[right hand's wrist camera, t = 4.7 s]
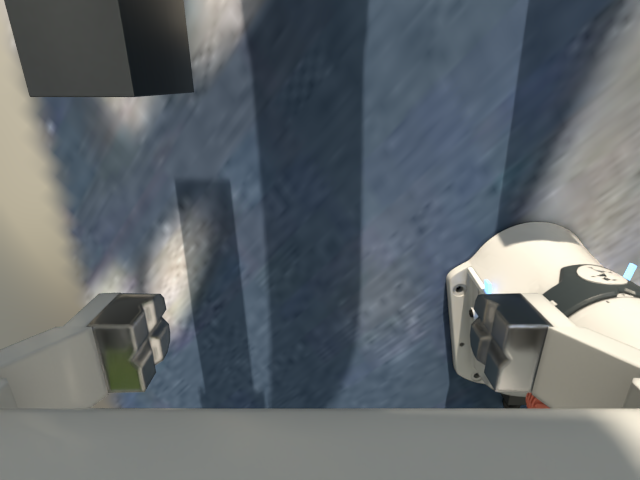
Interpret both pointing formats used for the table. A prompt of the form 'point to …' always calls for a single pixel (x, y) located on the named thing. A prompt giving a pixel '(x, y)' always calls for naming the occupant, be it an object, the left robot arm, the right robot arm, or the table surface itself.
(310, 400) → the table surface
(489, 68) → the table surface
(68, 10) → the box
